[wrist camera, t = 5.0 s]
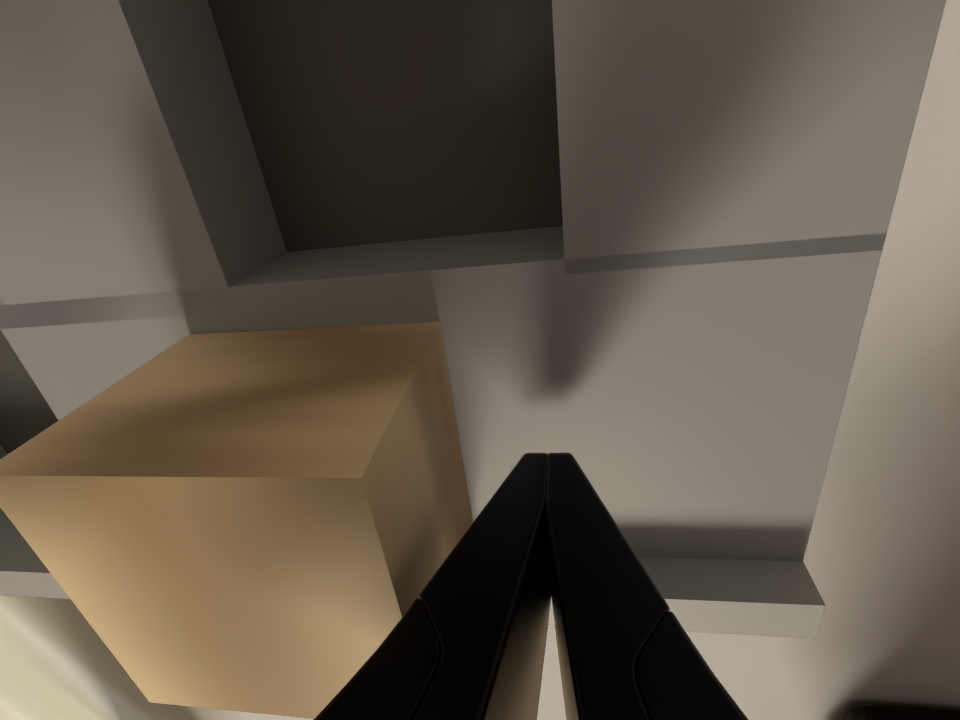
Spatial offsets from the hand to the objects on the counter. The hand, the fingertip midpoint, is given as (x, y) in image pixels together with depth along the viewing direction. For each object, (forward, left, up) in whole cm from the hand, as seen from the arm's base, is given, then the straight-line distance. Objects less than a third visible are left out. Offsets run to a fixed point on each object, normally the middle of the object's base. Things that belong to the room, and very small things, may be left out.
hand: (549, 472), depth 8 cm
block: (+4, 0, -1) cm, 4 cm away
